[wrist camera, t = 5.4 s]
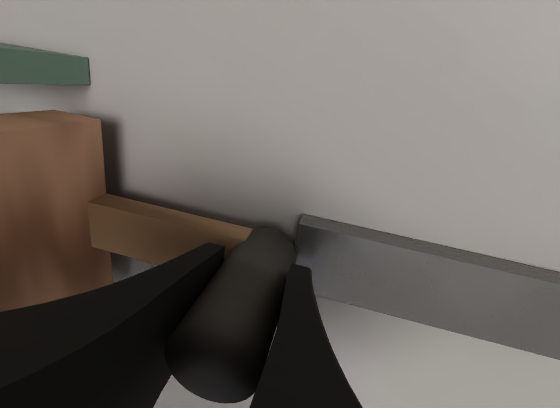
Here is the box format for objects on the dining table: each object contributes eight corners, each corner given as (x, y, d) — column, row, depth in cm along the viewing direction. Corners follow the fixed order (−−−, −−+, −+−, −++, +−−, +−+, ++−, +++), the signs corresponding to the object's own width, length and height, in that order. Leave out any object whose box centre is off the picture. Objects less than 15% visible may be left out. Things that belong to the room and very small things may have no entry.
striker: (280, 338, 13) (241, 479, 8) (76, 280, 15) (-55, 372, 10) (316, 163, 10) (287, 228, 5) (54, 110, 12) (-151, 125, 7)
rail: (559, 343, 12) (577, 364, 11) (290, 274, 14) (286, 287, 13) (602, 282, 11) (625, 299, 10) (302, 213, 12) (298, 224, 11)
